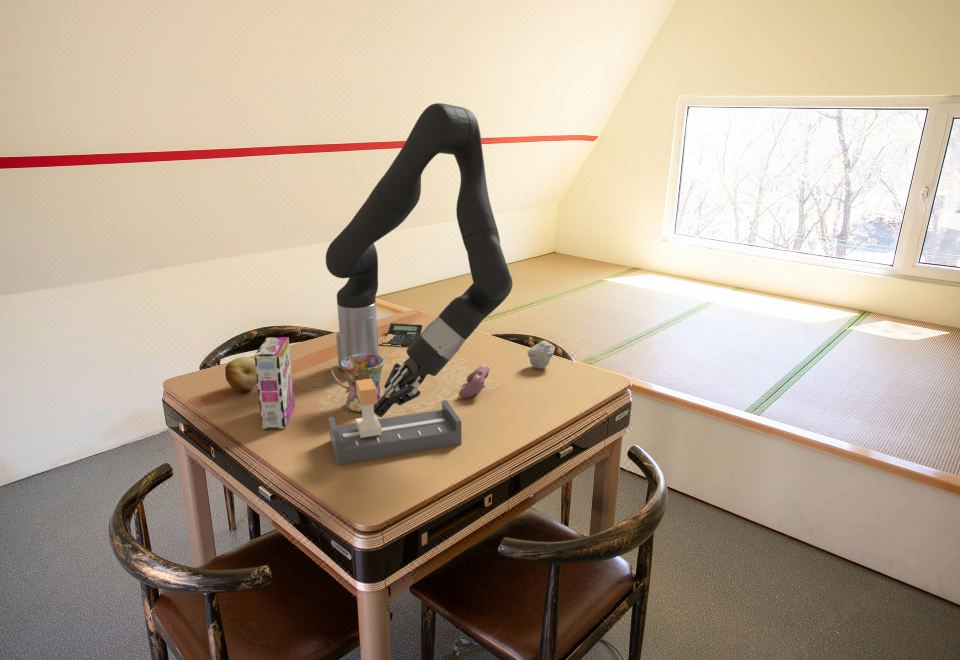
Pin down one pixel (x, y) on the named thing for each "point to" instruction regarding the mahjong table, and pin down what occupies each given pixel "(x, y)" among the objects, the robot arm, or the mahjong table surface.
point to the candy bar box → (274, 382)
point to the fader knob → (367, 409)
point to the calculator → (403, 334)
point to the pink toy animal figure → (475, 382)
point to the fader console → (397, 435)
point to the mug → (360, 375)
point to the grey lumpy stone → (541, 354)
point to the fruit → (241, 373)
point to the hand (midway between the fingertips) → (376, 413)
